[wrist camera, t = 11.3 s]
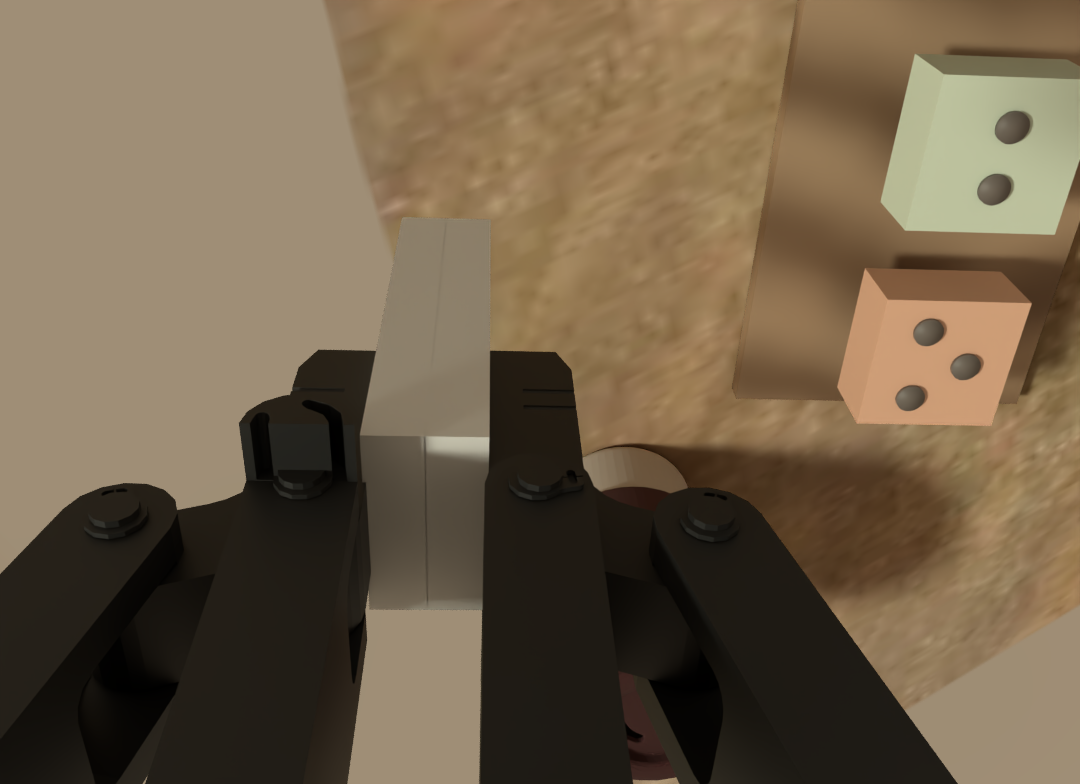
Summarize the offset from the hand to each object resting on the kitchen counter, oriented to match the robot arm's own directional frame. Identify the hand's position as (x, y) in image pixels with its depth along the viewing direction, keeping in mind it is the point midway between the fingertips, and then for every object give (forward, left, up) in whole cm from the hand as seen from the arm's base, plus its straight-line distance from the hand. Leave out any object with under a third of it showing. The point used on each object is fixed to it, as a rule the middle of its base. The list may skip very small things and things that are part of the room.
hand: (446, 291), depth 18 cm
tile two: (+4, +20, -23) cm, 31 cm away
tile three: (+13, +20, -23) cm, 33 cm away
